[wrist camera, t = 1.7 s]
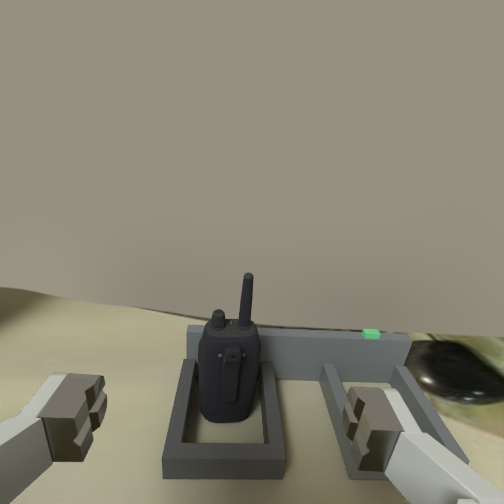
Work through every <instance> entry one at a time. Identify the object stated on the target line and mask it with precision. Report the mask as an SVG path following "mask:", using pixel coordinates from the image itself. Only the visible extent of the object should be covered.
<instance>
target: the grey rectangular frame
mask: <svg viewBox="0 0 504 504" xmlns="http://www.w3.org/2000/svg"><path fill="white" fill-rule="evenodd" d="M194 380H195V359H184V360H183V365H182V369H181V374H180V378H179V383H178V387H177V392H176V397H175V401H174V406H173V410H172V415H171V419H170V424H169V428H168V433H167V437H166V442H165V447H164V451H163V456H162V470H163V479H282V478H283V473H284V468H285V463H286V454H285V447H284V440H283V433H282V427H281V420H280V413H279V406H278V399H277V392H276V385H275V378H274V371H273V364H272V362H261V367H260V374H259V386H260V398H261V410H262V422H263V434H264V444H229V443H184V442H185V436H186V430H187V423H188V417H189V411H190V405H191V399H192V392H193V386H194Z"/></svg>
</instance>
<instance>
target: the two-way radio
mask: <svg viewBox="0 0 504 504" xmlns="http://www.w3.org/2000/svg"><path fill="white" fill-rule="evenodd" d="M252 293H253V275H252V274H251V273H246V274H245V275H244V279H243V287H242V294H241V302H240V312H239V319H225V314H224V312H223V311H222V310H220V309H218V310H215V311H214V312H213V315H212V319H211V320H210V321H208V322H207V324H206V325H205V327H204V330H203V334H202V337H201V339H200V341H199V348H198V364H199V398H200V401H199V403H200V412H201V414H202V415H203V416H204V417H205V419H206V420H208V421H210V422H216V423H224V422H236V421H240V420H243V419H245V418H246V417H247V416H248V414H249V412H250V411H251V408H252V402H253V397H254V392H255V386H256V378H257V370H258V364H259V362H260V354H261V341H260V338H259V333H258V330H257V327H256V325H255V324H254V322H253V321H251V320H250V319H251V307H252Z"/></svg>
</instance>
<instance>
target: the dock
mask: <svg viewBox="0 0 504 504" xmlns="http://www.w3.org/2000/svg"><path fill="white" fill-rule="evenodd" d="M204 327H205V325H188V329H187V359H195V377H199V364H198V348H199V341H200V339H201V337H202V334H203V330H204ZM257 330H258V333H259V338H260V341H261V354H260V362H259V364H258V370H257V378H256V379H259V374H260V367H261V362H272V364H273V371H274V378H275V379H279V380H313V381H319V382H320V385H321V388H322V392H323V395H324V398H325V401H326V404H327V408H328V411H329V414H330V417H331V421H332V424H333V427H334V430H335V433H336V437H337V440H338V443H339V446H340V450H341V453H342V456H343V459H344V462H345V466H346V469H347V472H348V475H349V479H350V480H389V479H388V477H387V476H386V475H385V474H384V473H385V472H374V471H358V470H357V467H356V464H355V461H354V458H353V455H352V452H351V446H352V443H353V442H352V441H351V440H350V439H349V438H348V437H347V436H346V433H345V430H344V426H343V413H342V412H343V408H344V405H345V404H346V403H347V402H349V401H348V399H347V396H346V394H345V391H344V389H343V386H342V384H341V381H347V382H381V383H390V385H391V387H392V388H393V389H396V390H397V391H398V392H399V394H400V395H401V397H402V399H403V401H404V402H405V404H406V406H407V407H408V409H409V411H410V413H411V414H412V416H413V418H414V419H415V421H416V423H417V424H418V426H419V428H420V430H421V431H422V433H428V434H429V435H430V436H431V437H433V438H434V439H435V440H436V441H438V442H439V443H440V444H441V445H443V446H444V447H445V448H447V449H448V450H449V451H450V452H452V453H453V454H454V455H455V456H457V457H458V458H459V459H460V460H462V461H463V462H464V463H466V464H467V465H468V463H469V460H468V458H467V457H466V455H465V454H464V452H463V451H462V449H461V448H460V446H459V445H458V443H457V442H456V440H455V439H454V437H453V436H452V434H451V433H450V431H449V430H448V428H447V427H446V426H445V424H444V423H443V421H442V420H441V418H440V417H439V415H438V414H437V412H436V411H435V409H434V408H433V406H432V405H431V403H430V402H429V400H428V399H427V397H426V396H425V394H424V393H423V391H422V390H421V388H420V387H419V385H418V384H417V382H416V381H415V380H414V378H413V377H412V375H411V374H410V372H409V371H408V369H407V368H406V366H403V365H404V363H405V360H406V357H407V355H408V352H409V349H410V347H411V344H412V340H411V339H410V338H409V336H408V335H407V334H393V333H379V331H378V330H376V329H363V331H362V332H346V331H323V330H299V329H276V328H257Z"/></svg>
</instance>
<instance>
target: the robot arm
mask: <svg viewBox="0 0 504 504" xmlns="http://www.w3.org/2000/svg"><path fill="white" fill-rule="evenodd" d="M104 385H105V381H104V376H101V375H87V374H74V373H56V372H54V373H52V374H51V375H49V376H48V377H47V379H46V380H45V381H44V383H43V384H42V385H41V386H40V388H39V389H38V390H37V392H36V393H35V394H34V395H33V397H32V398H31V399H30V401H29V402H28V403H27V404H26V406H25V407H24V408H23V410H22V411H21V412H20V413H19V415H18V416H17V417H10V418H9V419H7V420H6V421H4V422H2V423H1V424H0V504H9V503H10V502H12V501H13V500H14V499H15V498H16V497H17V496H18V495H19V494H20V493H21V492H22V491H24V490H25V489H26V488H27V487H28V486H29V485H30V484H31V483H32V482H33V481H35V480H36V479H37V478H38V477H39V476H40V475H41V474H42V473H43V472H44V471H45V470H47V469H48V468H49V467H50V466H51V465H52V464H53V462H83V461H84V459H85V457H86V455H87V453H88V450H89V448H90V446H91V444H92V442H93V434H92V432H94V431H95V430H96V429H97V428H99V427H100V425H101V423H102V421H103V419H104V416H105V412H106V408H107V395H106V394H105V393H104V392H103V391H102V389H103V387H104ZM347 397H348V399H349V402H347V403H346V404H345V405H344V408H343V412H342V413H343V426H344V430H345V433H346V436H347V437H348V438H349V439H350V440H351V441H352V442H353V443H352V446H351V452H352V455H353V458H354V461H355V464H356V467H357V470H358V471H374V472H385V473H384V474H385V475H386V476H387V477H388V479H389V480H390V481H391V482H392V483H393V484H394V486H395V487H396V488H397V489H398V490H399V491H400V493H401V494H402V495H403V496H404V497H405V498H406V500H407V501H408V502H409V503H410V504H504V494H503V493H502V492H501V491H500V490H498V489H497V488H496V487H495V486H493V485H492V484H491V483H490V482H488V481H487V480H486V479H485V478H483V477H482V476H481V475H479V474H478V473H477V472H476V471H474V470H473V469H472V468H471V467H469V466H468V465H467V464H466V463H464V462H463V461H462V460H460V459H459V458H458V457H457V456H455V455H454V454H453V453H452V452H450V451H449V450H448V449H447V448H445V447H444V446H443V445H441V444H440V443H439V442H438V441H436V440H435V439H434V438H433V437H431V436H430V435H429V434H428V433H422V431H421V430H420V428H419V426H418V424H417V423H416V421H415V419H414V418H413V416H412V414H411V413H410V411H409V409H408V407H407V406H406V404H405V402H404V401H403V399H402V397H401V395H400V394H399V392H398V391H397V390H396V389H393V388H368V387H350V389H349V390H348V394H347Z"/></svg>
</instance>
